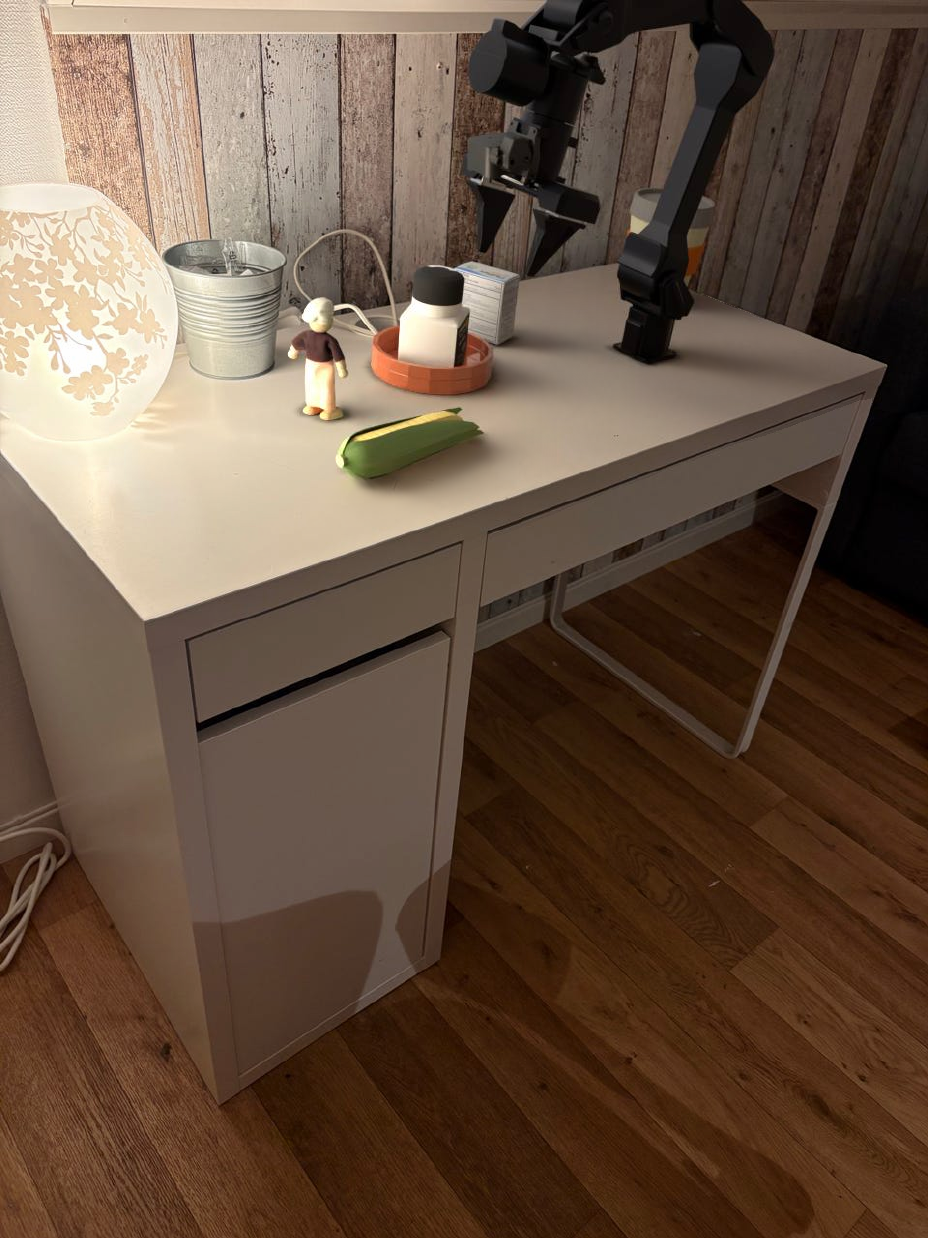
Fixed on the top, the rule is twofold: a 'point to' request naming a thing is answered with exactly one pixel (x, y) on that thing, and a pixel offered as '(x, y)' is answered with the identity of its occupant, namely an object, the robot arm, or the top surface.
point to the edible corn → (402, 443)
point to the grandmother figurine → (320, 359)
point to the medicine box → (490, 300)
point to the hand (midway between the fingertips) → (504, 263)
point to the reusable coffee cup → (703, 219)
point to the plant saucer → (427, 377)
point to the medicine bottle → (435, 319)
